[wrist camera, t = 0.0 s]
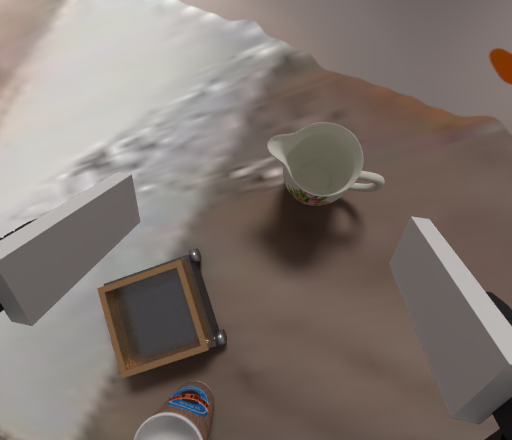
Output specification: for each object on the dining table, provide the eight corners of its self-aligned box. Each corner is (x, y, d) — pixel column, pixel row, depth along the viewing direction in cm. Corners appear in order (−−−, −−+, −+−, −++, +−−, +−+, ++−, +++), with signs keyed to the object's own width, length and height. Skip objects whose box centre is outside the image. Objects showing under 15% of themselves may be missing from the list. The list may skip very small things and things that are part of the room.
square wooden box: (228, 339, 47) (221, 354, 41) (141, 367, 48) (121, 387, 42) (199, 248, 49) (188, 249, 43) (116, 277, 50) (92, 282, 44)
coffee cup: (230, 380, 47) (213, 428, 35) (215, 438, 46) (193, 506, 34) (176, 362, 48) (143, 403, 36) (161, 419, 47) (121, 479, 35)
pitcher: (358, 223, 47) (390, 216, 34) (262, 197, 49) (256, 181, 35) (373, 166, 48) (411, 136, 34) (278, 142, 50) (278, 105, 36)
